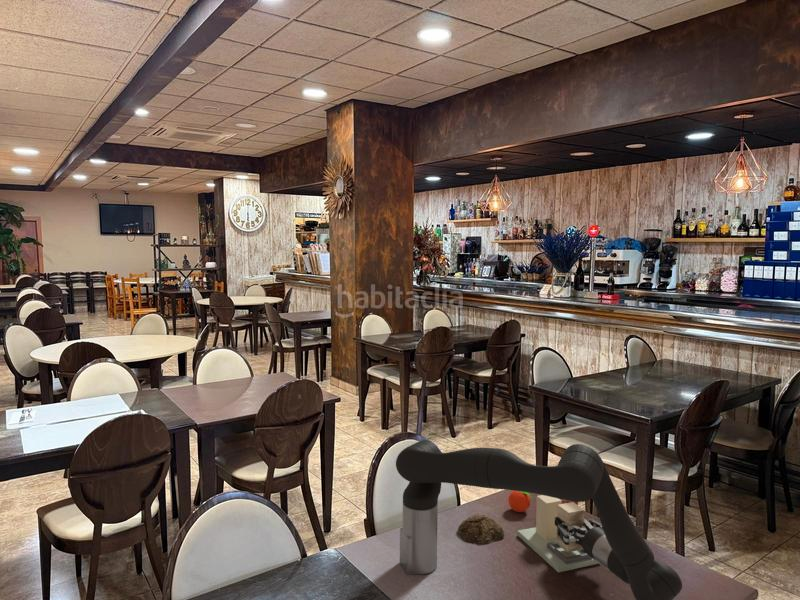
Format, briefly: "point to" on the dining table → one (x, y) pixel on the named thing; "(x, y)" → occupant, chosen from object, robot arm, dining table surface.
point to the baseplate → (548, 554)
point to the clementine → (519, 501)
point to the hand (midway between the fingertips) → (564, 518)
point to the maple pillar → (570, 522)
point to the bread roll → (480, 530)
